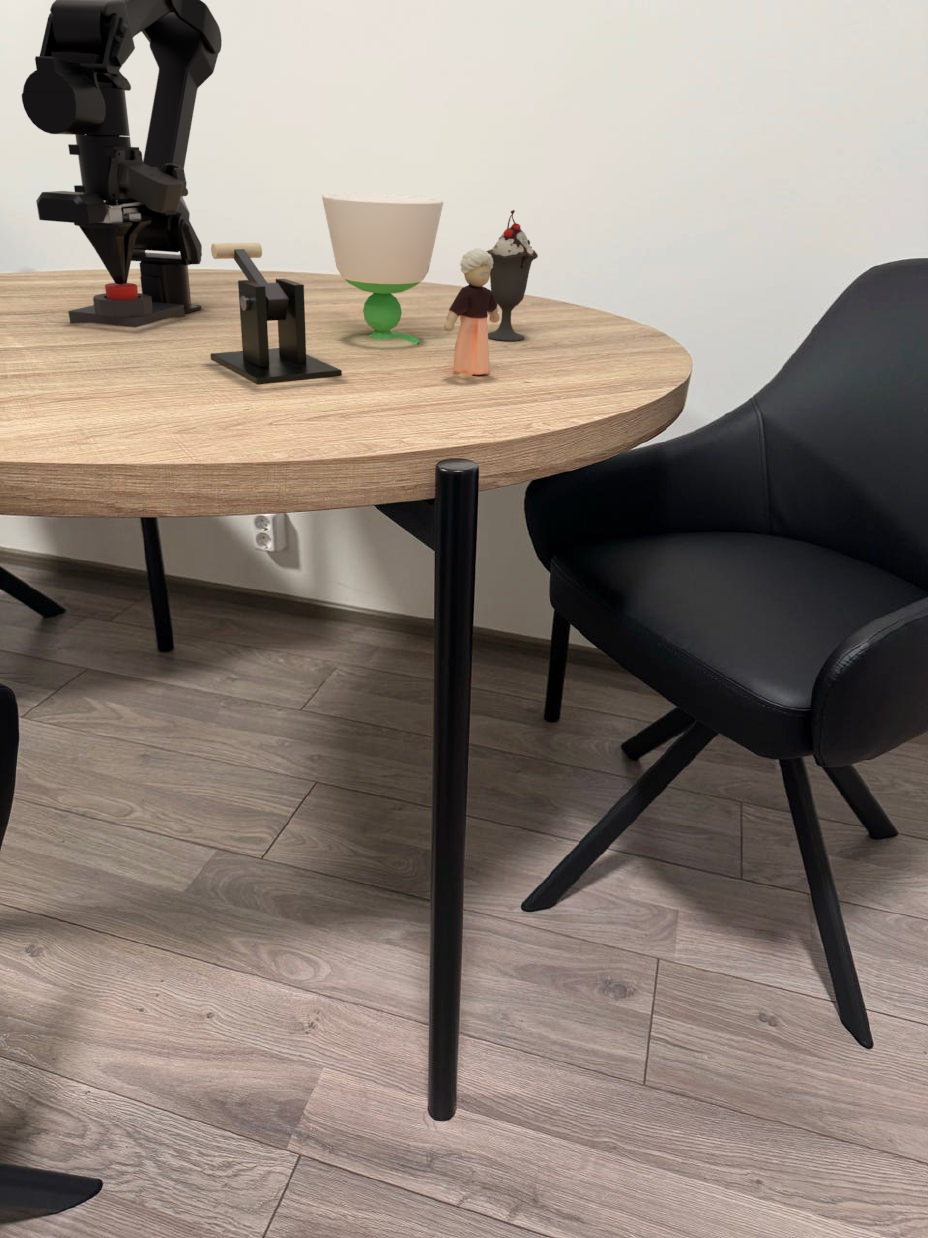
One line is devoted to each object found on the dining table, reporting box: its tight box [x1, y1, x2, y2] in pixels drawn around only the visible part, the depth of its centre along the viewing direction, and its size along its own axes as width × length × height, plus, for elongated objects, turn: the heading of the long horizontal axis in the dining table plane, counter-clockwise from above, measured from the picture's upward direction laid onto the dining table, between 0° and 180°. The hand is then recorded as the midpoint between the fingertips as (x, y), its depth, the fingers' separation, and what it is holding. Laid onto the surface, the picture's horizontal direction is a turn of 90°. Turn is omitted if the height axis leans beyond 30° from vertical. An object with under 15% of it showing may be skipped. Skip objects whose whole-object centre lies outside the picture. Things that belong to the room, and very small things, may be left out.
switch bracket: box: [210, 278, 343, 386], centre depth 91 cm, size 12×9×9 cm
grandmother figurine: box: [443, 247, 501, 379], centre depth 92 cm, size 8×4×13 cm, turn 148°
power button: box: [104, 282, 139, 300], centre depth 109 cm, size 4×4×2 cm
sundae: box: [485, 209, 539, 342], centre depth 112 cm, size 7×7×15 cm
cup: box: [321, 192, 444, 345], centre depth 106 cm, size 14×14×16 cm
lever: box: [210, 242, 289, 322], centre depth 92 cm, size 11×5×2 cm, turn 34°
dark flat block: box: [67, 292, 186, 328], centre depth 112 cm, size 12×9×4 cm
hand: (121, 283), depth 108 cm, fingers closed
